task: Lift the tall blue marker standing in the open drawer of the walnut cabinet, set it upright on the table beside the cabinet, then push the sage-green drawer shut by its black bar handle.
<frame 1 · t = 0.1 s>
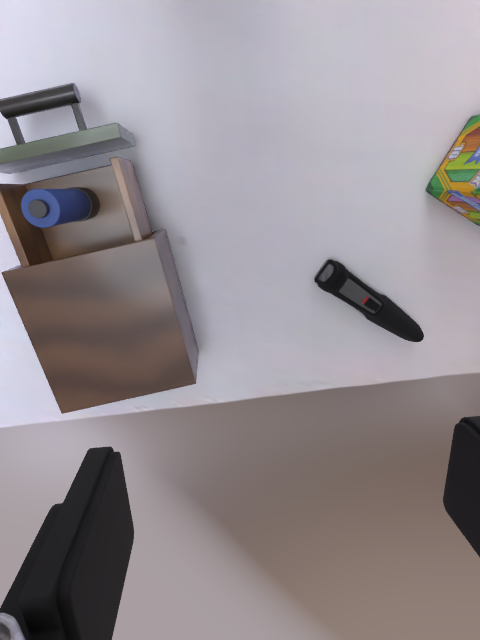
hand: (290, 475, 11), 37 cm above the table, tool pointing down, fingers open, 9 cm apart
cabinet: (123, 306, 47), on the table
drawer: (74, 198, 38), point 4 cm above the table, slide at 9.0 cm, touching marker
chalk box: (474, 174, 45), on the table
electric trimmer: (366, 298, 49), on the table
marker: (83, 203, 41), point 2 cm above the table, touching drawer
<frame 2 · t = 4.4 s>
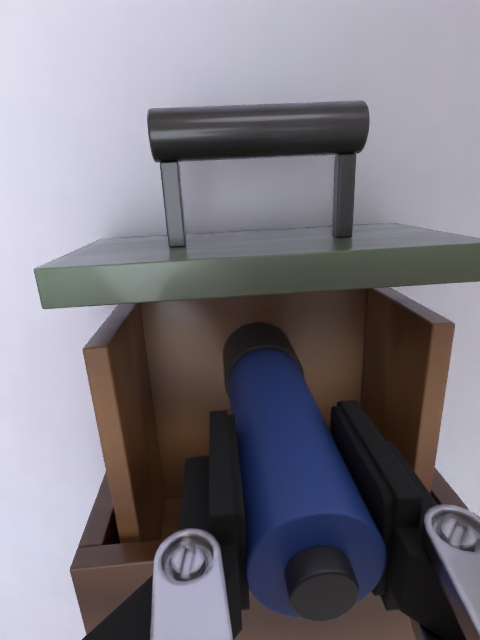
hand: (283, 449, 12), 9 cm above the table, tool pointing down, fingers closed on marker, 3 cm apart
cabinet: (259, 519, 24), on the table
drawer: (263, 363, 16), point 4 cm above the table, slide at 9.0 cm, touching marker
marker: (257, 354, 18), point 2 cm above the table, touching drawer, gripper
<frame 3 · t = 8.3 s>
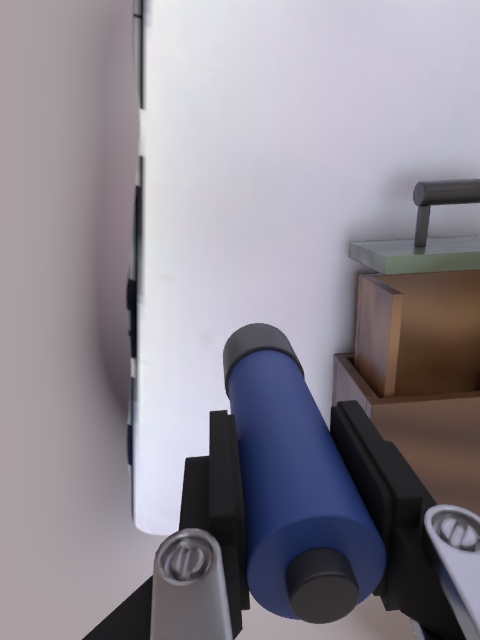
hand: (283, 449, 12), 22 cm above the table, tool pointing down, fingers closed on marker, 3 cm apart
cabinet: (404, 421, 38), on the table
drawer: (447, 310, 30), point 4 cm above the table, slide at 9.0 cm
marker: (257, 355, 18), point 15 cm above the table, touching gripper
when the fingers open (7 cm above the table, at t = 12.4 s): marker stays where it is, on the table.
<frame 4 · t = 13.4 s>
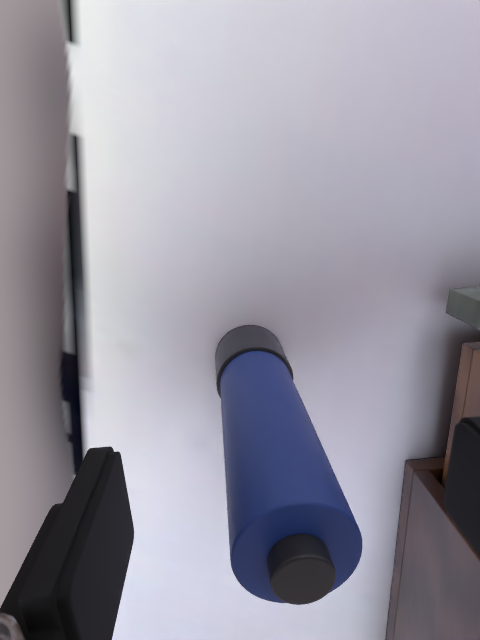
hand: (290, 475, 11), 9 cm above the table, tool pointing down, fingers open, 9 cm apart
marker: (248, 356, 19), on the table
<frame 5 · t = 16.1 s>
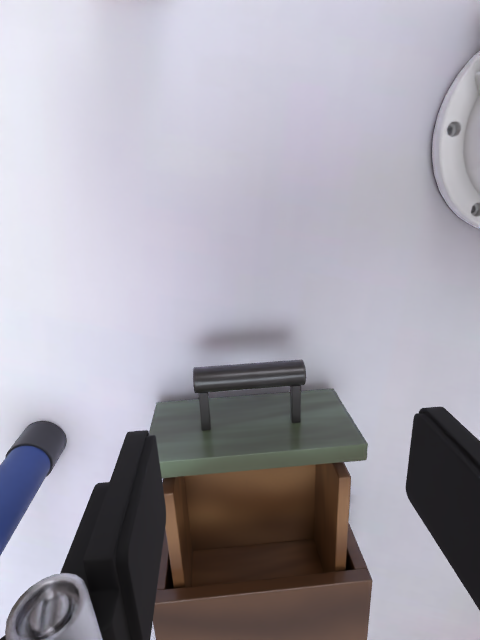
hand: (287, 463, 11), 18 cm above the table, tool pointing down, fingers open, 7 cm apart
cabinet: (253, 559, 36), on the table
drawer: (253, 481, 28), point 4 cm above the table, slide at 9.0 cm
marker: (44, 439, 30), on the table
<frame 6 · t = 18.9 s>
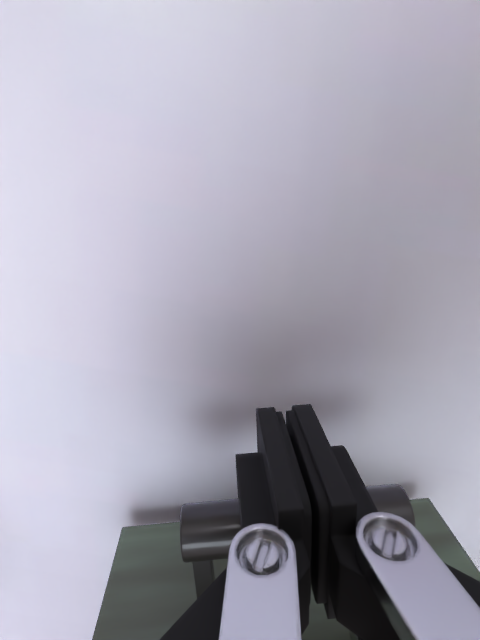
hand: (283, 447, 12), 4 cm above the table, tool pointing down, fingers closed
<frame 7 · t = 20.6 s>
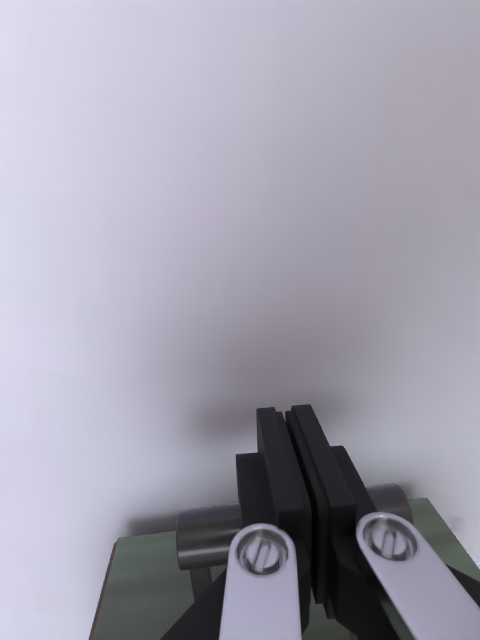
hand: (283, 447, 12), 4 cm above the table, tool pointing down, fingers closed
cabinet: (281, 637, 20), on the table
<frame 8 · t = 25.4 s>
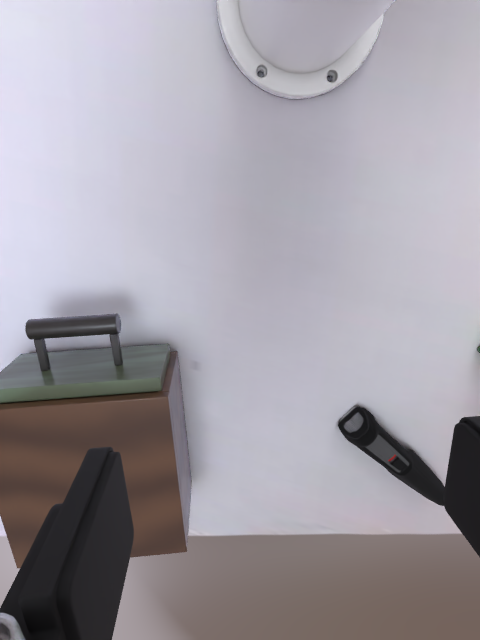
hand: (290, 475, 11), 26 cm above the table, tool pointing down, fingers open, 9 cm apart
cabinet: (113, 426, 40), on the table
drawer: (94, 416, 34), point 4 cm above the table, slide at 0.0 cm
electric trimmer: (390, 447, 43), on the table
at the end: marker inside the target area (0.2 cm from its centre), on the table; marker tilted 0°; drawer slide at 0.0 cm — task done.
